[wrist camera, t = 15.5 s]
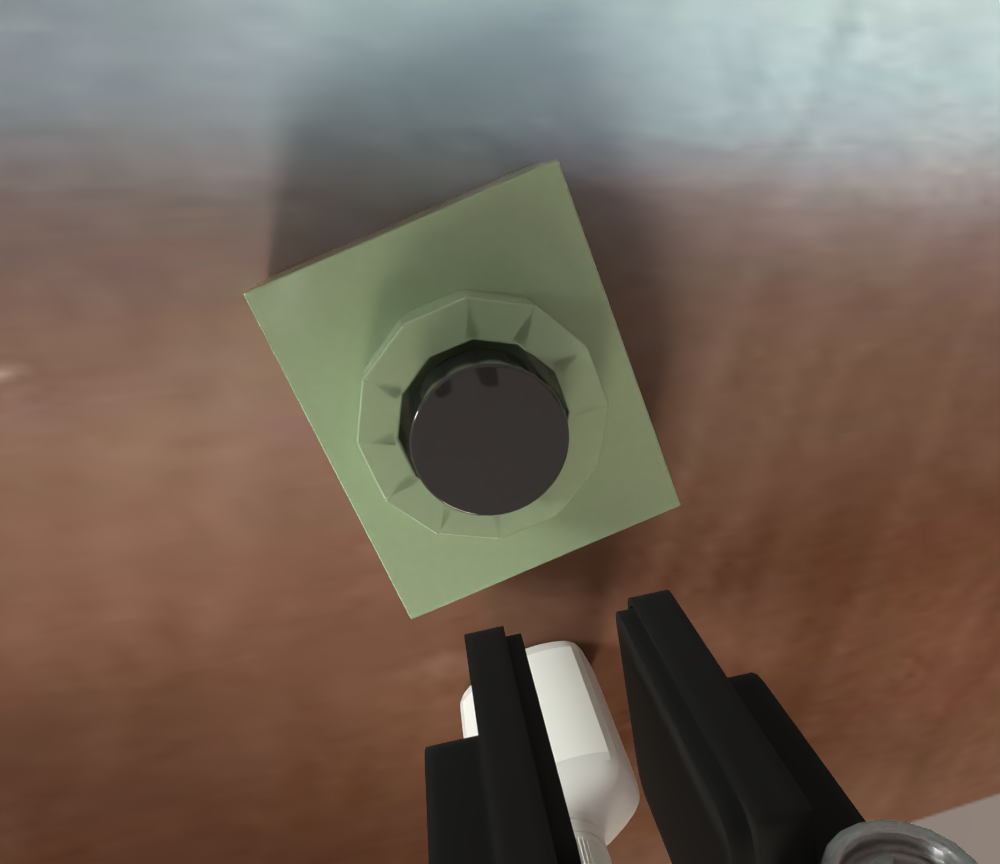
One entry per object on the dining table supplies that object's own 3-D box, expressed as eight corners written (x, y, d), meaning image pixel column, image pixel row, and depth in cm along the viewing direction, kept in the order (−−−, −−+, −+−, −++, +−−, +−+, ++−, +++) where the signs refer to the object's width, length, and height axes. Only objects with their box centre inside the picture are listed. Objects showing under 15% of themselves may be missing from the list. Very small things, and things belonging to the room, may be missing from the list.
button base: (266, 277, 27) (229, 302, 21) (535, 162, 27) (571, 156, 21) (409, 563, 31) (411, 650, 25) (645, 464, 31) (700, 527, 25)
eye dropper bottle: (460, 641, 32) (492, 893, 21) (594, 635, 33) (697, 876, 21) (458, 730, 33) (488, 1014, 22) (588, 723, 34) (681, 995, 23)
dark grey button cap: (384, 383, 23) (382, 403, 21) (524, 324, 23) (536, 338, 21) (444, 510, 24) (448, 540, 22) (575, 455, 24) (591, 479, 22)
